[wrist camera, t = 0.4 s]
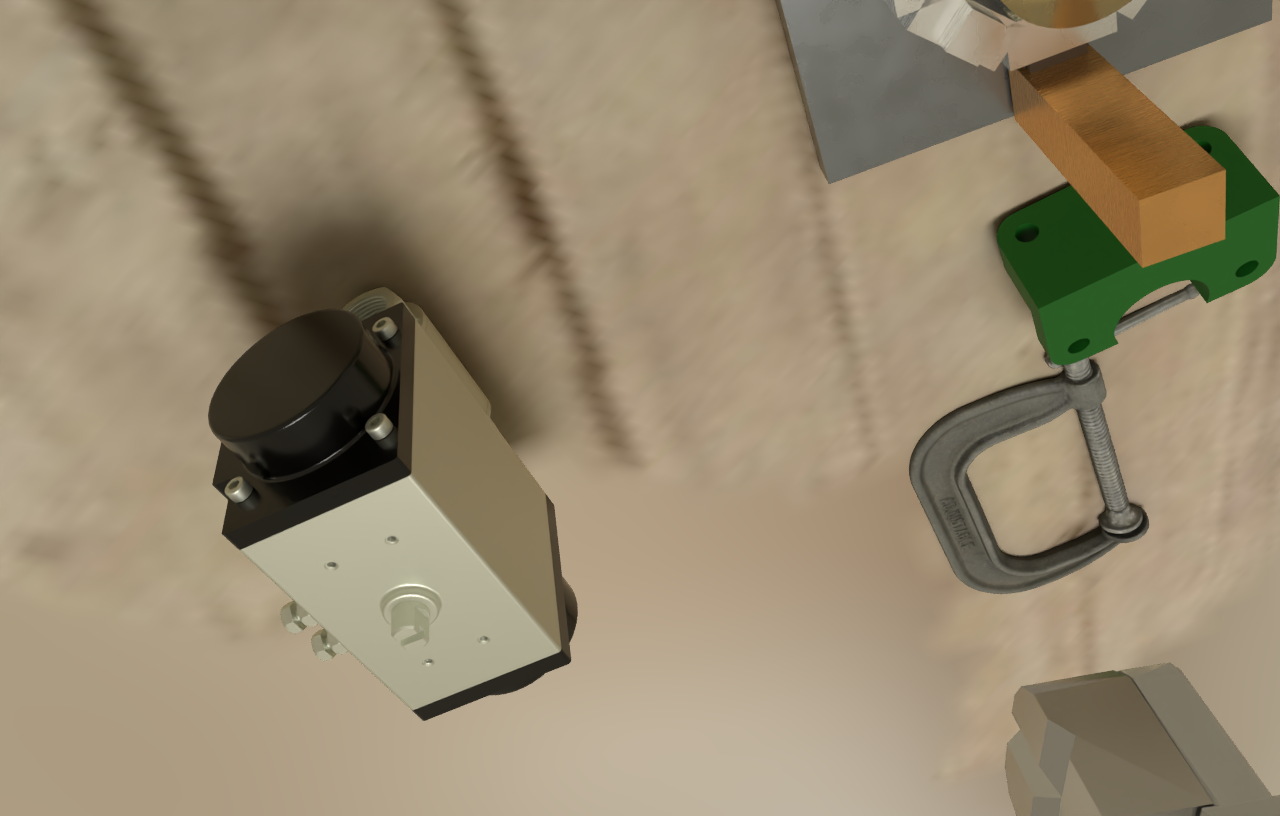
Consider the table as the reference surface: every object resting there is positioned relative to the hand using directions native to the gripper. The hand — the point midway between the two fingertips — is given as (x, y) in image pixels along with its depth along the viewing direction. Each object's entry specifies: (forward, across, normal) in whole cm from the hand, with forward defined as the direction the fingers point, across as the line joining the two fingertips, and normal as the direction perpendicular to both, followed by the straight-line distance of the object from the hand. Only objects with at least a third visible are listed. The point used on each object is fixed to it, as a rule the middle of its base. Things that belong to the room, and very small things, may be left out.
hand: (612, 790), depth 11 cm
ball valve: (+42, +8, +19) cm, 47 cm away
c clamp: (+45, -28, +33) cm, 62 cm away
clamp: (+42, -28, +17) cm, 53 cm away
